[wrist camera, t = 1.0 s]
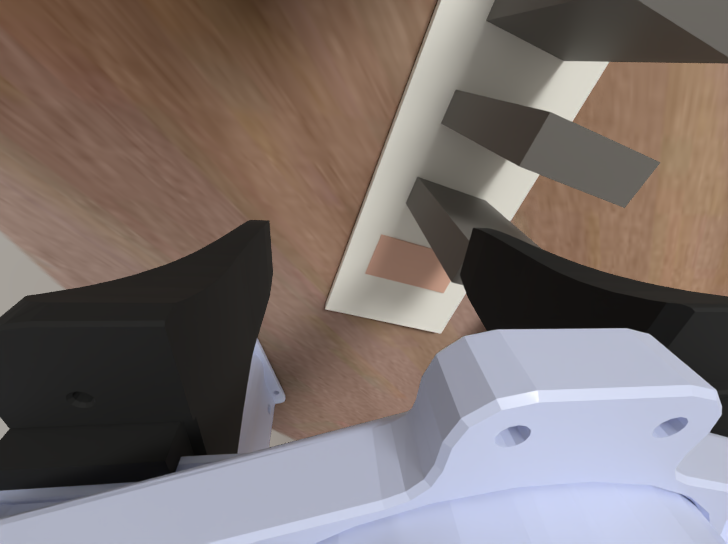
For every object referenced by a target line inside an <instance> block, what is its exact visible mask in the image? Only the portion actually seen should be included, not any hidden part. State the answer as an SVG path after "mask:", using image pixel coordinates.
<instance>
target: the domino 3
mask: <svg viewBox="0 0 728 544" xmlns="http://www.w3.org/2000/svg"><path fill="white" fill-rule="evenodd" d="M441 124H443V125H445V126H446V127H448V128H450V129H452V130H454V131H456V132H457V133H459V134H461V135H463V136H465V137H466V138H468V139H470V140H472V141H474V142H476V143H477V144H479V145H481V146H483V147H485V148H486V149H488V150H490V151H492V152H494V153H496V154H497V155H499V156H501V157H503V158H505V159H506V160H508V161H510V162H512V163H514V164H516V165H517V166H519V167H522V168H524V169H527V170H529V171H532V172H535V173H537V174H540V175H542V176H545V177H547V178H550V179H552V180H555V181H557V182H560V183H563V184H565V185H568V186H570V187H573V188H575V189H578V190H580V191H583V192H585V193H588V194H591V195H593V196H596V197H598V198H601V199H603V200H606V201H608V202H611V203H613V204H616V205H619V206H621V207H624V208H625V207H626V206H627V204H628V203H629V202H630V200H631V199H632V198H633V197H634V195H635V194H636V193H637V192H638V190H639V189H640V188H641V186H642V185H643V184H644V183H645V181H646V180H647V179H648V178H649V176H650V175H651V174H652V172H653V171H654V170H655V169H656V167H657V166H658V165H659V164H660V162H658V161H656V160H654V159H652V158H649V157H647V156H645V155H643V154H641V153H639V152H636V151H634V150H632V149H630V148H628V147H626V146H623V145H621V144H619V143H617V142H615V141H613V140H610V139H608V138H606V137H604V136H602V135H600V134H597V133H595V132H593V131H591V130H589V129H587V128H584V127H582V126H580V125H578V124H576V123H574V122H571V121H569V120H567V119H565V118H563V117H560V116H558V115H556V114H554V113H552V112H549V111H544V110H540V109H536V108H532V107H528V106H523V105H519V104H515V103H511V102H506V101H502V100H498V99H494V98H489V97H485V96H481V95H477V94H473V93H468V92H464V91H460V90H455V92H454V94H453V97H452V99H451V101H450V104H449V106H448V108H447V110H446V113H445V115H444V117H443V120H442V122H441Z"/></svg>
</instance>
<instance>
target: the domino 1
mask: <svg viewBox="0 0 728 544" xmlns="http://www.w3.org/2000/svg"><path fill="white" fill-rule="evenodd" d="M406 205H407V206H408V208H409V210H410V212H411V213H412V215H413V217H414V218H415V220H416V222H417V224H418V225H419V227H420V229H421V231H422V232H423V234H424V236H425V237H426V239H427V241H428V243H429V244H430V246H431V248H432V250H433V251H434V253H435V255H436V256H437V258H438V260H439V262H440V263H441V265H442V267H443V269H444V270H445V272H446V274H447V276H448V277H449V279H450V281H451V282H452V283H456V284H460V285H463V283H462V280H461V277H460V272H461V269H462V265H463V262H464V258H465V254H466V251H467V247H468V244H469V240H470V237H471V233H472V229H473V228H491V229H494V230H498V231H501V232H503V233H506V234H508V235H511V236H513V237H515V238H518V239H520V240H522V241H524V242H527V243H529V244H531V245H533V246H536V247H538V248H540V247H539V246H538V245H536V244H535V243H534V242H533V241H532V240H531V239H529V238H528V237H527V236H526V235H525V234H524V233H523V232H521V231H520V230H519V229H518V228H517V227H516V226H515V225H513V224H512V223H511V222H510V221H509V220H508V219H506V218H505V217H504V216H503V215H502V214H501V213H500V212H498V211H497V210H496V209H495V208H494V207H493V206H491V205H490V204H489V203H488V202H487V201H486V200H483V199H480V198H477V197H474V196H472V195H469V194H466V193H463V192H460V191H457V190H454V189H451V188H449V187H446V186H443V185H440V184H437V183H434V182H431V181H428V180H426V179H423V178H420V177H417V179H416V181H415V183H414V186H413V188H412V190H411V193H410V195H409V197H408V199H407V202H406ZM540 249H541V248H540Z"/></svg>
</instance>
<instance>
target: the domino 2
mask: <svg viewBox="0 0 728 544" xmlns="http://www.w3.org/2000/svg"><path fill="white" fill-rule="evenodd" d="M486 21H488V22H489V23H491V24H493V25H495V26H497V27H499V28H501V29H503V30H505V31H507V32H509V33H511V34H513V35H514V36H516V37H518V38H520V39H522V40H524V41H526V42H528V43H530V44H532V45H534V46H536V47H538V48H539V49H541V50H543V51H545V52H547V53H549V54H551V55H553V56H555V57H557V58H559V59H561V60H563V61H593V62H666V63H728V0H495V1H494V3H493V6H492V8H491V10H490V12H489V15H488V17H487V19H486Z"/></svg>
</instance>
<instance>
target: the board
mask: <svg viewBox="0 0 728 544" xmlns="http://www.w3.org/2000/svg"><path fill="white" fill-rule="evenodd" d="M494 1H495V0H438V2H437V5H436V8H435V10H434V13H433V16H432V18H431V21H430V24H429V26H428V29H427V32H426V34H425V37H424V40H423V42H422V45H421V48H420V51H419V53H418V56H417V59H416V61H415V64H414V67H413V69H412V72H411V75H410V77H409V80H408V83H407V86H406V88H405V91H404V94H403V96H402V99H401V102H400V104H399V107H398V110H397V112H396V115H395V118H394V121H393V123H392V126H391V129H390V131H389V134H388V137H387V139H386V142H385V145H384V147H383V150H382V153H381V156H380V158H379V161H378V164H377V166H376V169H375V172H374V174H373V177H372V180H371V182H370V185H369V188H368V191H367V193H366V196H365V199H364V201H363V204H362V207H361V209H360V212H359V215H358V217H357V220H356V223H355V226H354V228H353V231H352V234H351V236H350V239H349V242H348V244H347V247H346V250H345V252H344V255H343V258H342V261H341V263H340V266H339V269H338V271H337V274H336V277H335V279H334V282H333V285H332V287H331V290H330V293H329V296H328V298H327V301H326V304H325V309H327V310H331V311H336V312H341V313H346V314H350V315H355V316H360V317H365V318H369V319H374V320H379V321H383V322H388V323H393V324H398V325H402V326H407V327H412V328H417V329H421V330H426V331H431V332H436V333H440V334H441V333H442V331H443V329H444V328H445V326H446V324H447V323H448V321H449V320H450V318H451V316H452V315H453V313H454V312H455V310H456V308H457V307H458V305H459V303H460V302H461V300H462V299H463V297H464V295H465V294H466V291H465V289H464V286H463V285H460V284H456V283H452V282H451V281H450V279H449V277H448V276H447V274H446V272H445V270H444V269H443V267H442V265H441V263H440V262H439V260H438V258H437V256H436V255H435V253H434V251H433V250H432V248H431V246H430V244H429V243H428V241H427V239H426V237H425V236H424V234H423V232H422V231H421V229H420V227H419V225H418V224H417V222H416V220H415V218H414V217H413V215H412V213H411V212H410V210H409V208H408V206H407V205H406V202H407V199H408V197H409V195H410V193H411V190H412V188H413V186H414V183H415V181H416V179H417V177H420V178H423V179H426V180H428V181H431V182H434V183H437V184H440V185H443V186H446V187H449V188H451V189H454V190H457V191H460V192H463V193H466V194H469V195H472V196H474V197H477V198H480V199H483V200H486V201H487V202H488V203H489V204H490V205H491V206H493V207H494V208H495V209H496V210H497V211H498V212H500V213H501V214H502V215H503V216H504V217H505V218H506V219H508V220H509V221H511V220H512V218H513V216H514V215H515V213H516V211H517V210H518V208H519V207H520V205H521V203H522V202H523V200H524V199H525V197H526V195H527V194H528V192H529V191H530V189H531V187H532V186H533V184H534V182H535V181H536V179H537V178H538V176H539V174H537V173H535V172H532V171H529V170H527V169H524V168H522V167H519V166H517V165H516V164H514V163H512V162H510V161H508V160H506V159H505V158H503V157H501V156H499V155H497V154H496V153H494V152H492V151H490V150H488V149H486V148H485V147H483V146H481V145H479V144H477V143H476V142H474V141H472V140H470V139H468V138H466V137H465V136H463V135H461V134H459V133H457V132H456V131H454V130H452V129H450V128H448V127H446V126H445V125H443V124H441V122H442V120H443V117H444V115H445V113H446V110H447V108H448V106H449V104H450V101H451V99H452V97H453V94H454V92H455V90H460V91H464V92H468V93H473V94H477V95H481V96H485V97H489V98H494V99H498V100H502V101H506V102H511V103H515V104H519V105H523V106H528V107H532V108H536V109H540V110H544V111H549V112H552V113H554V114H556V115H558V116H560V117H563V118H565V119H567V120H569V121H571V122H572V121H573V119H574V118H575V116H576V115H577V113H578V111H579V110H580V108H581V107H582V105H583V103H584V102H585V100H586V99H587V97H588V95H589V94H590V92H591V90H592V89H593V87H594V86H595V84H596V82H597V81H598V79H599V78H600V76H601V74H602V73H603V71H604V69H605V68H606V66H607V65H608V63H609V62H593V61H563V60H561V59H559V58H557V57H555V56H553V55H551V54H549V53H547V52H545V51H543V50H541V49H539V48H538V47H536V46H534V45H532V44H530V43H528V42H526V41H524V40H522V39H520V38H518V37H516V36H514V35H513V34H511V33H509V32H507V31H505V30H503V29H501V28H499V27H497V26H495V25H493V24H491V23H489V22H488V21H486V19H487V17H488V15H489V12H490V10H491V8H492V6H493V3H494Z"/></svg>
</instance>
